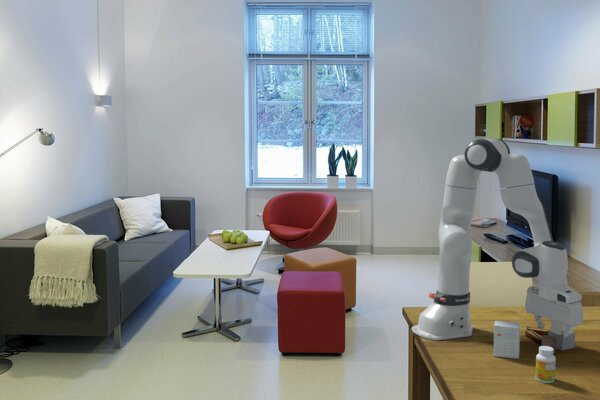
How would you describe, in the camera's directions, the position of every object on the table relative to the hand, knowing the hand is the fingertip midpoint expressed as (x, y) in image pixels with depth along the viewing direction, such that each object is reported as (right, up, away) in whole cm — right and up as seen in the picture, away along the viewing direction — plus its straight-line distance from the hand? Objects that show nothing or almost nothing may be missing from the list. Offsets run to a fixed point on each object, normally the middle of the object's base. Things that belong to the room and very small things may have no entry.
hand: (552, 332), depth 209 cm
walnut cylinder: (-1, -7, +1) cm, 7 cm away
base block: (+5, -6, +6) cm, 10 cm away
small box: (-16, -7, -1) cm, 17 cm away
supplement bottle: (-11, -10, -21) cm, 26 cm away
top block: (+5, -1, +5) cm, 8 cm away
